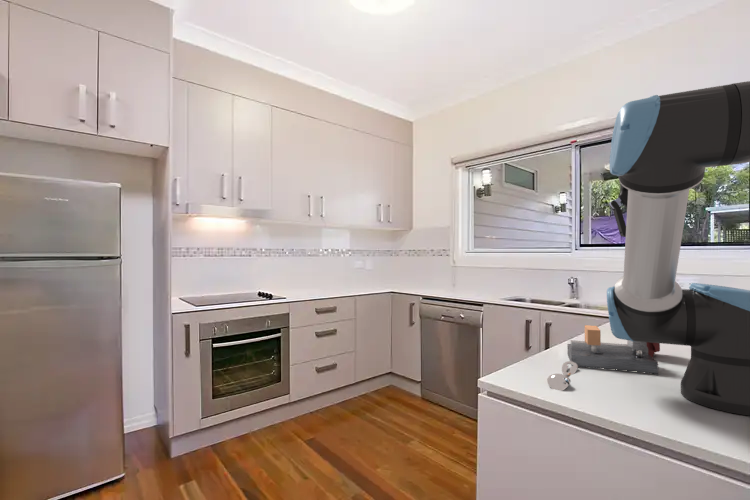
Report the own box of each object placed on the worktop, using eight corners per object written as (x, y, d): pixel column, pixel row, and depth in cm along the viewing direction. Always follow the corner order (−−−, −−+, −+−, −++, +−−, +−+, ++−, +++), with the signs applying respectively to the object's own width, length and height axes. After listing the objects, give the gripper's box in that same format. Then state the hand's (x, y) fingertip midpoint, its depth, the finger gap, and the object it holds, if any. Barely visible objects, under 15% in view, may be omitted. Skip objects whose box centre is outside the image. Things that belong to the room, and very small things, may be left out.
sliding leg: (600, 353, 103) (600, 330, 103) (587, 352, 104) (587, 329, 104) (596, 347, 109) (596, 325, 109) (584, 346, 110) (584, 325, 110)
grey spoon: (561, 352, 102) (581, 355, 100) (561, 365, 102) (581, 368, 100) (544, 377, 86) (568, 381, 83) (545, 393, 86) (568, 397, 83)
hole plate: (657, 374, 95) (657, 361, 95) (571, 365, 102) (571, 354, 102) (643, 360, 107) (643, 349, 107) (567, 353, 114) (567, 343, 114)
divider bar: (651, 358, 98) (651, 334, 98) (572, 351, 105) (572, 329, 105) (644, 352, 104) (644, 330, 104) (570, 346, 111) (570, 325, 111)
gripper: (660, 175, 103) (661, 263, 103) (605, 178, 107) (605, 263, 107) (672, 169, 96) (673, 264, 96) (612, 172, 100) (613, 263, 100)
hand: (637, 263), depth 101 cm, fingers closed
